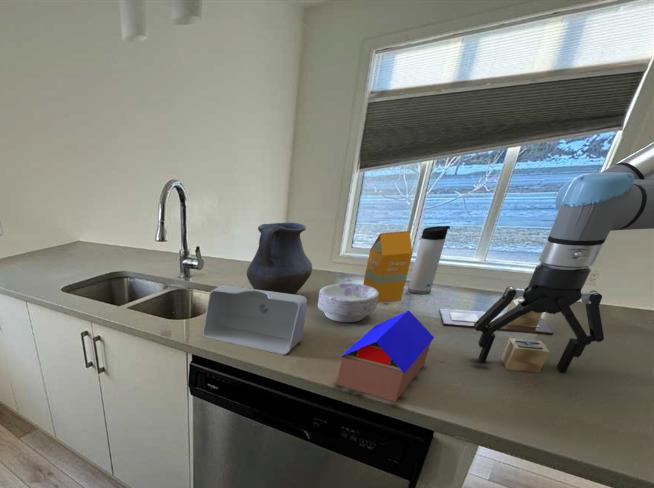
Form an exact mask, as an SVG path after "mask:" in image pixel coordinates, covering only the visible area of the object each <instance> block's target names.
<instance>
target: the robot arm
mask: <svg viewBox="0 0 654 488" xmlns="http://www.w3.org/2000/svg"><path fill="white" fill-rule="evenodd" d="M554 199H555V200H554V204H555V207H556V209H557V210H558V211H557V214H556V216H555V219H554V221H553V225H552V227H551V230H550V232H549V234H548V237H547V240H546V241H545V244H544V246H543V248H542V251H541V254H540V256H539V258H538V261H539V262H540V263H538V264H536V266H535V269H534V271H533V273H532V275H531V278H530V280H529V283H528V285H527V287H525V288H524V289H523V288H522V289H521V288H514V286H507V287H505V289H504V292H503V294H502V296H501V297H500V298H499V299H498V300H496V302H495V303H494V304H493V305H492V306H490V307H489V308H488V309H487V310H486V311H485V312H486V313H485V314H484V315H483V316H482V317H480V318H479V319H478V320H477V321H476V322H475V323H474V326H475V328H474V329H475V331H477V332H480V333H481V334H480V338H479V340H478V346H479V348H481V350H480V352H479V355H478V360H479V363H481V364H486V362H487V359H488V357H489V354H490V351H491V349H492V346H493V343H494V341H495V339H496V334H495V332H497V331H500V330H499V329H500V328H502V327H503V326H505V325H507V324H508V323H510V322H512V321H513V320H515V319H517V318H518V317H520V316H522V315H524V314H527V313H529V312H530V311H534V312H535V313H542V314H543V313H547V314H550V315H556V314H557V313H561V314H562V316H563V318H564V319H565V321H566V323H567V324H568V326H569V328H570V329H571V331H572V333H573V334H574V336H575V337H576V338H574V337H570V338H569V340H568V342H567V345H566V346H565V348H564V350H563V352H562V354H561V356H560V359H559V360H558V362H557V365H556V368H557V370H559V373H567V370H568V369H569V367H570V365H571V363H572V361H573V359H574V358H579V357H581V355H582V354H583V352H584V350H585V348H586V346H589V345H591V343H593V342H597V343H600V342H603V341H604V339H605V336H604V330H603V323H602V315H601V310H600V304H601V302H602V299H603V295H602V294H601V293H600V292H598V291H597V290H594V289H593V290H590V291H589V292H582V289H583V288H584V285H585V284H586V282H587V280H588V277H589V275H590V273H591V271H592V270H591V268H590V267H591V266H594V264H595V262H596V260H597V258H598V256H599V254H600V251H601V250H602V248H603V245H604V244H605V242H606V240H607V238H608V236H609V234H610V232H611V231H613V232H614V231H630V230H651V229H654V142H652V143H650V144H649V145H647V146H644V147H643V148H641V149H640V150H638V151H636V152H634V153H633V154H630V155H629V156H627V157H625V158H624V159H622V160H620V161H619V162H616V163H615V164H613V165H612V166H610V167H608V168H606V169H604V170H602V171H601V172H588V173H582V174H579V175H578V176H576V177H573V178H571V179H570V180H568V181H566V182H565V183H564V184H563V185H562V186H561V187H560V189H559V190H558V191H557V193H556V195H555V198H554ZM519 297H522V299H524V301H522V302H521V303H519V304H518V305H517V306H516V307H515V308H513V309H511V310H510V311H508V312H507V311H506V312H507V313H506V312H504V313H505V314H503V315H502V316H500V317H499V318H497V319H495V320H494V321H492V320H493V319H494V318H495V317H496V316H497V315H498V314H499V313H503V311H504V310H505V309H506V308H508V307H509V305H510V303H511V302H512V300H515V299H519ZM580 300H581V302H582V303H583V304H584V305H585V311H586V317H587V325H588V330H589V333H586V331H585V330H584V328H583V327H582V325H581V324H580V322H579V319H577V317H576V315H575V314H574V312H573V310H572V308H571V306H572V305H574V304H576V303H577V302H579V301H580ZM491 321H492V322H491Z"/></svg>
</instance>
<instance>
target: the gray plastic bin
mask: <svg viewBox="0 0 654 488" xmlns="http://www.w3.org/2000/svg"><path fill="white" fill-rule="evenodd" d="M307 305H308V300H307V298H306V296H304V295H300V294H295V295H294V294H286V293H279V292H271V291H264V290H256V289H253V288H248V287H239V286H234V285H233V286H232V285H224V284H221V285H219V286H217V287H216V288H214V289H212V290H211V291H209V294H208V300H207V305H206V309H205V310H206V311H205V317H204V323H203V328H202V335H203V336H204V338H207V339H209V340H210V339H211V340H216V341H219V342H224V343H228V344H233V345H237V346H240V347H241V346H242V347H246V348H251V349H255V350H260V351H264V352H269V353H273V354H278V355H282V356H285V355H287V354H288V353H290V352H291V351H292V350H293V349H294V348H295V346H297V345H298V344H299V342H301V341H302V340H303V337H304V328H305V321H306V312H307Z"/></svg>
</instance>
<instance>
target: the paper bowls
mask: <svg viewBox="0 0 654 488" xmlns="http://www.w3.org/2000/svg"><path fill="white" fill-rule="evenodd" d="M378 296H379V292H378V291H377V290H376V289H375V288H373V287H370V286H366V285H363V284H359V283H346V282H345V283H334V284H329V285H326V286H323V287H322V288H321V289H320V290H319V294H318V301H317V308H318V309H319V310H320V311H321V312H324V315H325V316H326V318H328V319H329V320H331V321H334V322H339V323H356V322H360V321H362V320H364V319H365V317H366V316H367V315H371V314H373V313H374V312H375V311H376V309H377V305H378V303H379V302H378Z"/></svg>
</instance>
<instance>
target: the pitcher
mask: <svg viewBox="0 0 654 488" xmlns="http://www.w3.org/2000/svg"><path fill="white" fill-rule="evenodd" d="M257 230H258V232H259V233H260V236H259V240H258V247H257V250H256V253H255V254H254V257H253V258H252V260H251V262H250V264H249V266H248V267H247V270H246V276H247V280H248V282H249V284H250V285H251V287H252V289H256V290H264V291H271V292H279V293H286V294H294V295H297V293H298V292H299V291H300V290H302V288H303V286H304V285H305V284H306V282H307V281H308V280H309V278H310V277H311V275H312V272H313V263H312V262H311V260H310V259H309V257H308V256H307V254H306V253H305V250H304V247H303V242H302V239H301V233H303V232H304V231H306V230H307V227H306V225H304V224H303V223H298V222H274V223H273V222H272V223H262V224H260V225H258V227H257Z"/></svg>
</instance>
